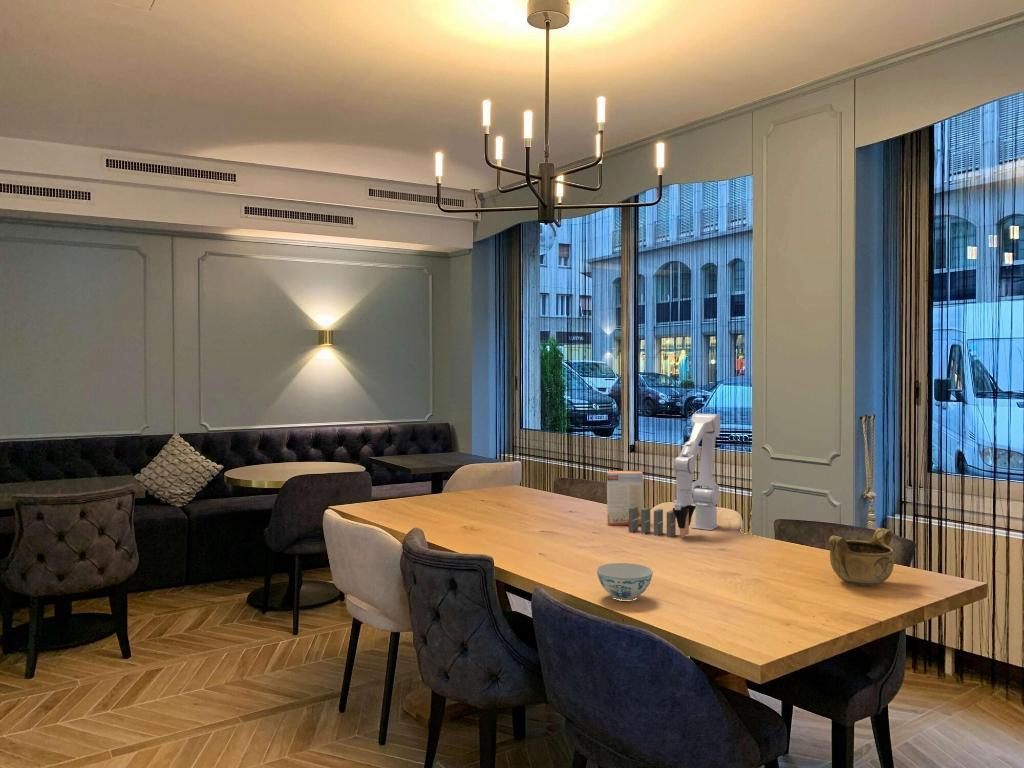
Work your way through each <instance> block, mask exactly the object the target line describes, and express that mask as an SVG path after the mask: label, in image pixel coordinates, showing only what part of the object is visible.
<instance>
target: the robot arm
mask: <svg viewBox="0 0 1024 768" xmlns="http://www.w3.org/2000/svg"><path fill="white" fill-rule="evenodd" d="M721 422H722V420H721V418H720V416H719V414H718V413H715V414H714V413H697V412H694V413H693V414H692V416H691V421H690V424H691V428H692V430H691V434H690V436H689V439H688V441H685V442H684V444H683V447H682V449H681V451H680V453H679V456H677V457H675V458H674V461H673V470H674V476H675V478H676V479H675V480H676V482H675V484H676V485H675V488H676V491H675V493H676V498H675V499H674V500H672V501H673V502H672V503H673V504H674V507H672V510H673V512H674V514H675V516H676V523H677V527H678V529H680V528H685V524H686V517H687V514H688V512H689V527H690V525H691V522H692V517H693V514H694V511H695V516H694V517H695V518H694V519H695V521H694V525H693V526H691V529H696V530H697V529H698V530H706V531H712V530H715V529H716V528H718V527H719V526H720V525H719V524H717V523H718V520H717V518H718V515H717V514H718V511H717V507H716V505H718V503H719V501H720V486H719V485H718V483H716V482H715V481H714V479H713V475H714V463H715V450H716V449H715V447H716V440H717V439H716V438H717V437H719V436H720V433H721V426H722V425H721V424H722V423H721ZM700 442H701V453H700V464H699V465H700V466H699V475H698V479H697V480H695V481H694V482H693V473H694V472H695V469H696V464H697V457H698V454H699V451H700V446H699V445H700ZM685 509H689V510H685Z"/></svg>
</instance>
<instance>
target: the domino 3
mask: <svg viewBox="0 0 1024 768" xmlns="http://www.w3.org/2000/svg"><path fill="white" fill-rule="evenodd" d="M676 523H677V519H676V516H675V514H674V512H673V509H672V510H668V511H667V512H666V537H667V536H668V537H667V538H673V537H674V536H676V535H677V531H676V530H677V528H676V527H677V524H676ZM675 534H676V535H675Z"/></svg>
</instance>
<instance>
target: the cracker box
mask: <svg viewBox="0 0 1024 768" xmlns="http://www.w3.org/2000/svg"><path fill="white" fill-rule="evenodd" d="M643 475H644V473H643V471H642V470H639V471H637V470H609V471H608V470H607V471H606V490H607V491H606V505H607V506H606V510H607V511H606V512H607V514H606V515H607V521H606V522H607V525H608V526H629V508H631V507H634V506H636V507H638V526H640V525H641V510H642V509H644V476H643Z"/></svg>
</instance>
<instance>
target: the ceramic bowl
mask: <svg viewBox="0 0 1024 768" xmlns="http://www.w3.org/2000/svg"><path fill="white" fill-rule="evenodd" d="M892 537H893V532H892V530H891V529H888V528H882V527H878V528H876V530H875V531H874V534H873V535H872V539H871V540H870V541H864V540H855V539H853V540H852V539H851V540H850V539H846V538H845V537H842V536H837V535H831V536H830V537H829V539H828V545H829V549H830V551H829V558H830V559H829V561H830V565H831V567H832V570H833V573H834V574H835V575H836V576H837V577H838V578H840V580H842V581H843V582H845V583H847V584H849V585H851V584H852V586H855V587H862V588H871V587H875V586H878V585H880V584H881V583H884V582H885V581H887V580H888V579H889V578H890V576H891V575H892V573H893V570H894V566H895V565H894V564H895V556H894V550H893V548H892V547H891V546H890V543H891V541H892Z"/></svg>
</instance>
